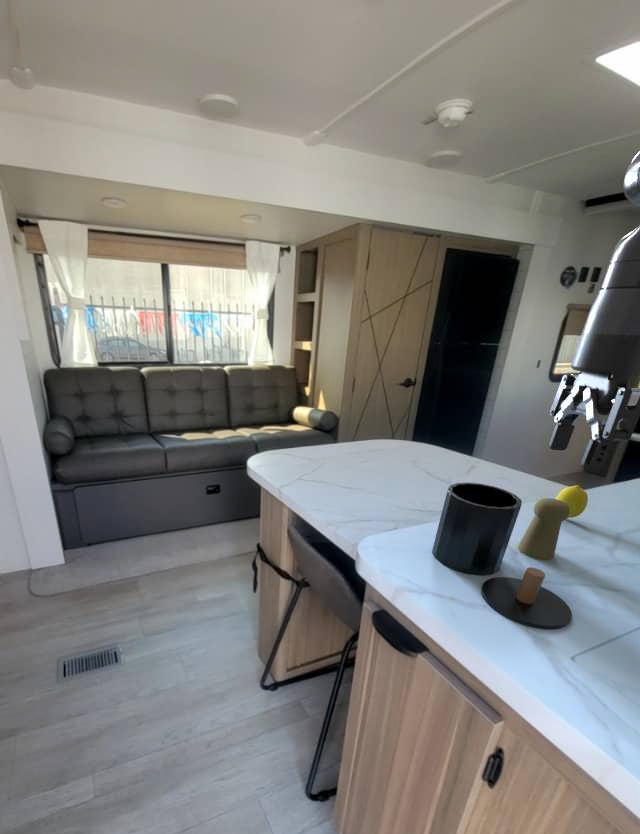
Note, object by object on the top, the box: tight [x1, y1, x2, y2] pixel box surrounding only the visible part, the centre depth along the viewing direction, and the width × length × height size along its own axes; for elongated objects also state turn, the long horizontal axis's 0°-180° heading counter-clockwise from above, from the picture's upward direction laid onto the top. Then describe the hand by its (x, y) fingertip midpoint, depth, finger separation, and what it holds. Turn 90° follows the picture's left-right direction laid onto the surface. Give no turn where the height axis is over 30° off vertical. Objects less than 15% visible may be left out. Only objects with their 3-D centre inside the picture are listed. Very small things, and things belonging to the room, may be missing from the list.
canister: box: [431, 482, 523, 577], centre depth 71 cm, size 11×11×13 cm
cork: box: [517, 497, 570, 561], centre depth 74 cm, size 6×6×11 cm
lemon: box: [555, 484, 589, 520], centre depth 89 cm, size 6×6×8 cm
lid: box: [480, 567, 573, 630], centre depth 61 cm, size 12×12×6 cm
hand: (572, 458), depth 57 cm, fingers open, 8 cm apart
